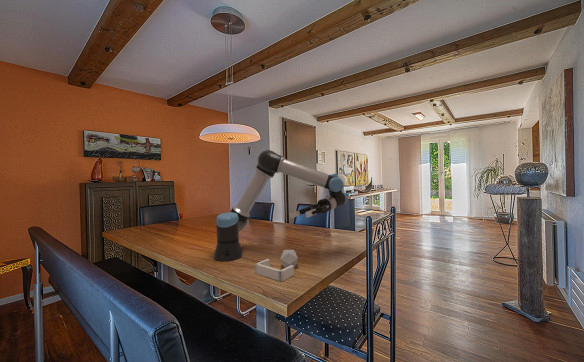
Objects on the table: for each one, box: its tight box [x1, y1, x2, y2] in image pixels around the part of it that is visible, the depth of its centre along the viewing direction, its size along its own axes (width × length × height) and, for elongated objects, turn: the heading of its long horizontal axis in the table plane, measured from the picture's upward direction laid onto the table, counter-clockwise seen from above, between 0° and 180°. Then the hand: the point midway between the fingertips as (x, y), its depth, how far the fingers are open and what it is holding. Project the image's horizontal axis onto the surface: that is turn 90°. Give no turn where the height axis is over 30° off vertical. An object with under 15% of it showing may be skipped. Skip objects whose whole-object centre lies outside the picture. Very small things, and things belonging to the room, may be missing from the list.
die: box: [279, 249, 298, 269], centre depth 118 cm, size 8×9×10 cm
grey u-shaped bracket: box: [253, 258, 295, 282], centre depth 109 cm, size 16×8×4 cm, turn 51°
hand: (297, 215), depth 125 cm, fingers open, 13 cm apart
